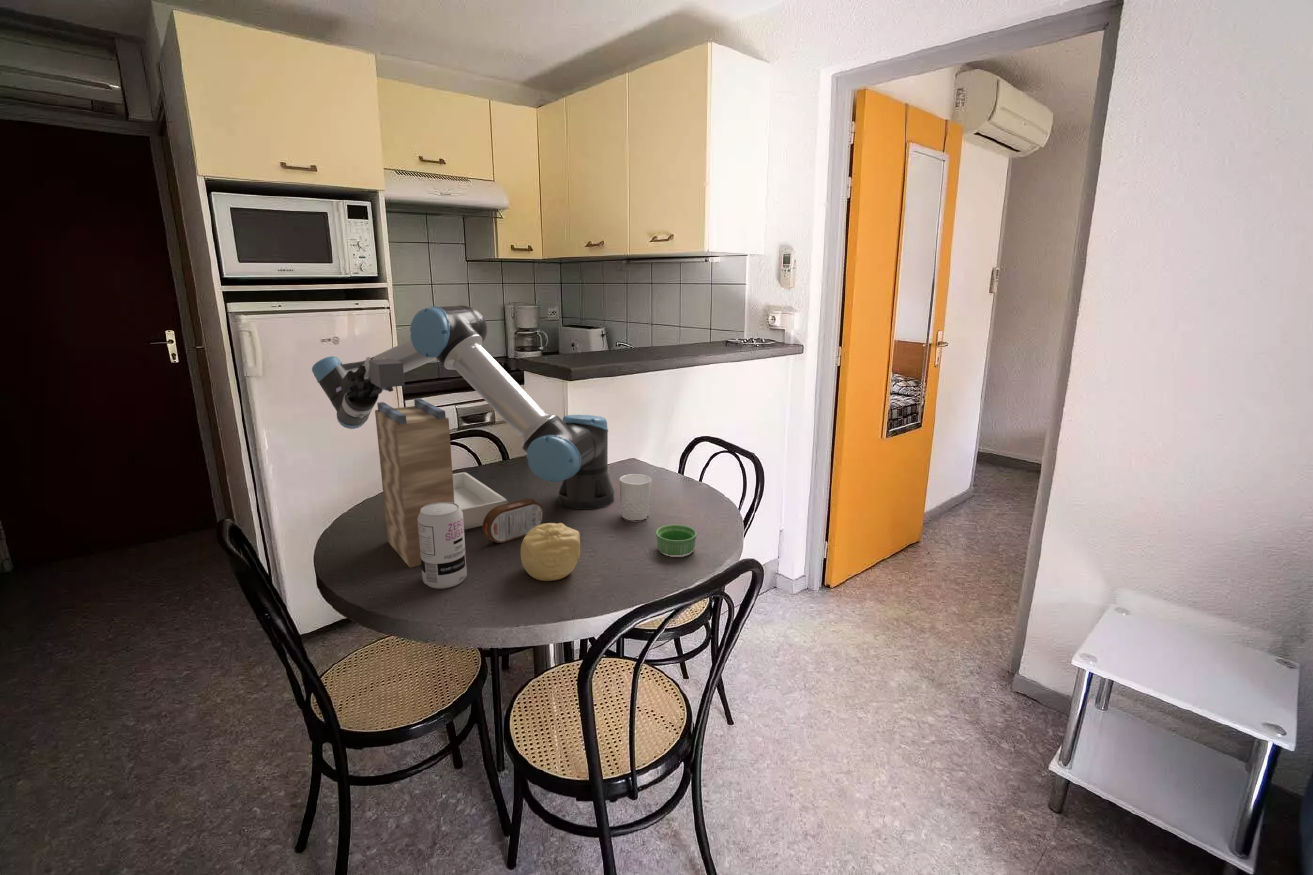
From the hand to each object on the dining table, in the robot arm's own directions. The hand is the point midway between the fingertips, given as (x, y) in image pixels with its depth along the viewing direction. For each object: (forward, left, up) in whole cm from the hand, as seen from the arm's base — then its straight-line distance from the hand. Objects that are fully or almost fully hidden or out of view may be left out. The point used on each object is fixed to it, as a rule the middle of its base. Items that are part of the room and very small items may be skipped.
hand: (377, 362), depth 141 cm
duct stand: (-16, +15, -38) cm, 44 cm away
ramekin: (-71, +7, -39) cm, 81 cm away
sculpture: (-47, +22, -39) cm, 64 cm away
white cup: (-59, -11, -39) cm, 71 cm away
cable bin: (-14, -9, -38) cm, 42 cm away
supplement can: (-27, +28, -39) cm, 55 cm away
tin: (-34, +6, -39) cm, 51 cm away
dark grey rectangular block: (-1, +1, -4) cm, 4 cm away
